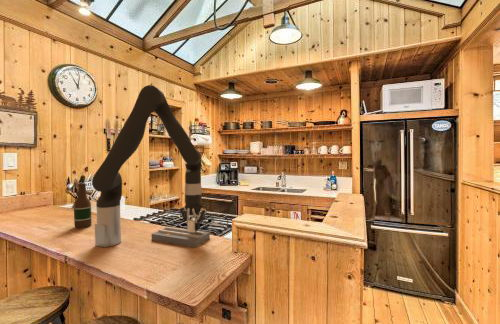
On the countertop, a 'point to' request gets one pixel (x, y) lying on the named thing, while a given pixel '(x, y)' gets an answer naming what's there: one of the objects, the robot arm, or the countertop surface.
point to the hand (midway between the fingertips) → (193, 229)
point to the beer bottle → (82, 208)
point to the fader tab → (191, 226)
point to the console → (180, 236)
